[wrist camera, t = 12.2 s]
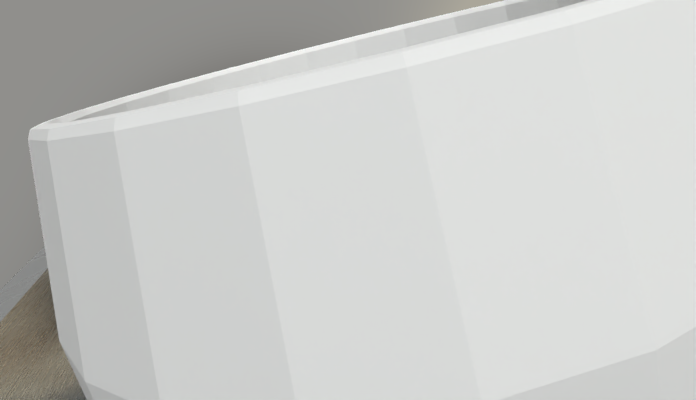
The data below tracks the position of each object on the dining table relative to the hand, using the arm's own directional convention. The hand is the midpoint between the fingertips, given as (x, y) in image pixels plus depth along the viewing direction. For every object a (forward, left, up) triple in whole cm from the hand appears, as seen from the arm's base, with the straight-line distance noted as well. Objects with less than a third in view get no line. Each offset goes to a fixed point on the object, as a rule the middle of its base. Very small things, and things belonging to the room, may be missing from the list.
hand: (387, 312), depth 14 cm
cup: (-1, -4, -8) cm, 9 cm away
